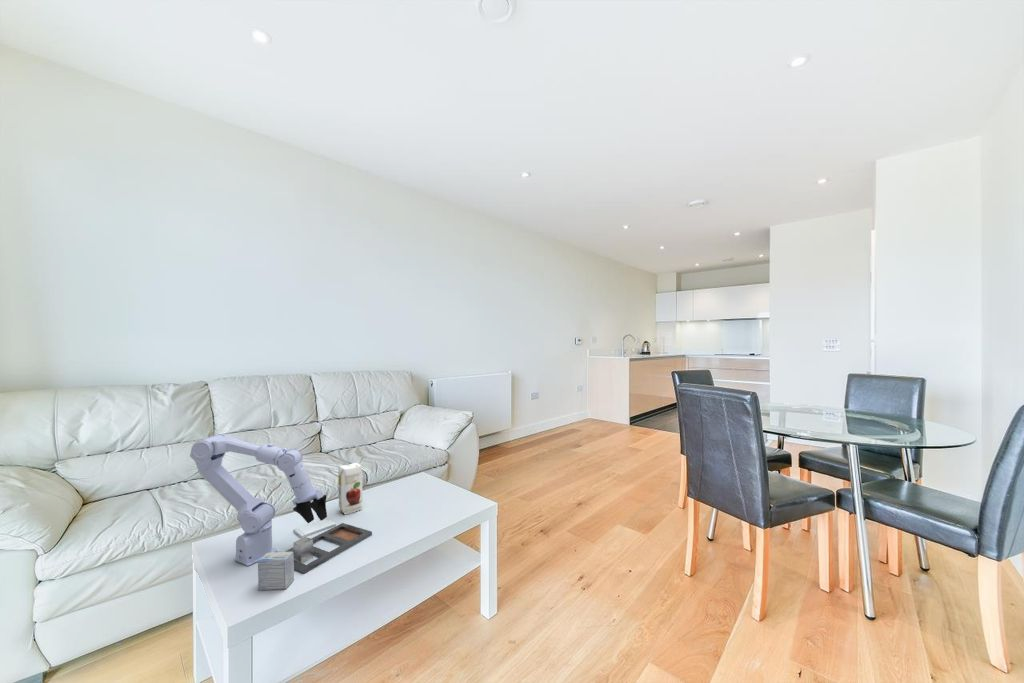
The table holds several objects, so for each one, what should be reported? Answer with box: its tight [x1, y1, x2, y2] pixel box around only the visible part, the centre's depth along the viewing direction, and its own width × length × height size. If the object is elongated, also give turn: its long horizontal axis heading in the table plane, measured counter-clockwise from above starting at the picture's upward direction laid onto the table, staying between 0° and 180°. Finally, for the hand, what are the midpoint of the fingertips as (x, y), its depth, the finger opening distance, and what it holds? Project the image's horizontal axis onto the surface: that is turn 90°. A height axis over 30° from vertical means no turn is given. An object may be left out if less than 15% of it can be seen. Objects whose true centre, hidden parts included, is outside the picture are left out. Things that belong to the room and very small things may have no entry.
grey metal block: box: [292, 536, 314, 564], centre depth 121 cm, size 4×4×6 cm
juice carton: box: [337, 462, 364, 516], centre depth 158 cm, size 8×9×19 cm
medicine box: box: [257, 551, 295, 591], centre depth 108 cm, size 8×4×9 cm, turn 92°
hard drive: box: [292, 517, 337, 539], centre depth 142 cm, size 2×8×12 cm
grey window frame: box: [284, 522, 373, 575], centre depth 128 cm, size 26×16×1 cm, turn 152°
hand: (317, 520), depth 127 cm, fingers open, 7 cm apart
